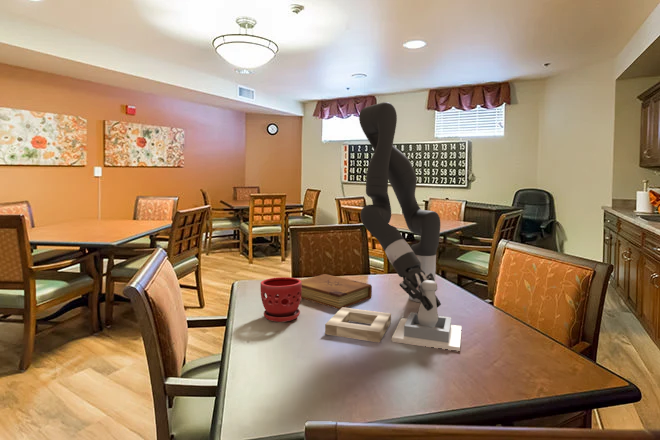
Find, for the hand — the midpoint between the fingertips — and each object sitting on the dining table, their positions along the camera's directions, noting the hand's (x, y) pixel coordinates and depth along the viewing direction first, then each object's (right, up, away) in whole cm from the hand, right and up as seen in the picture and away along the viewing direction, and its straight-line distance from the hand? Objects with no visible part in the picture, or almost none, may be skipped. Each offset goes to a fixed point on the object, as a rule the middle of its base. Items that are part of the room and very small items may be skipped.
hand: (434, 307), depth 114 cm
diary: (-29, -5, +38) cm, 48 cm away
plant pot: (-45, -7, +16) cm, 48 cm away
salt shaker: (-1, -6, +2) cm, 6 cm away
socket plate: (-1, -9, +2) cm, 9 cm away
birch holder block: (-21, -8, +7) cm, 23 cm away
